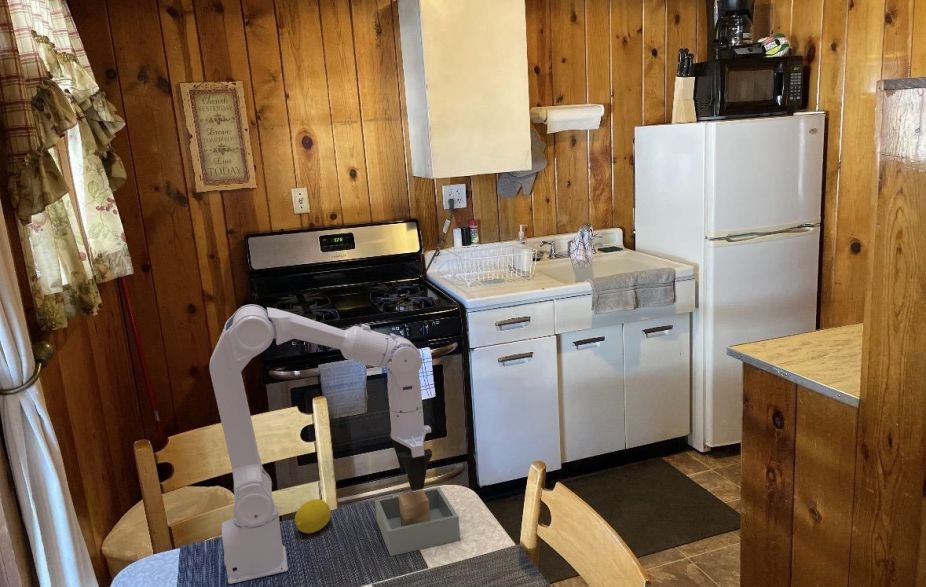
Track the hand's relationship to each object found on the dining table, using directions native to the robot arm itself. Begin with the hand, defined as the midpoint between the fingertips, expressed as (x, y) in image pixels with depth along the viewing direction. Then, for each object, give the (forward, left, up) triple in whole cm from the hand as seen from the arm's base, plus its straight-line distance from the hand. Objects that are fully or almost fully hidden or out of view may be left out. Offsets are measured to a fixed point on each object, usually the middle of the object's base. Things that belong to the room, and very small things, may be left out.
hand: (412, 479), depth 126 cm
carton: (0, 0, -9) cm, 9 cm away
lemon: (-14, +11, -7) cm, 19 cm away
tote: (0, 0, -10) cm, 10 cm away
